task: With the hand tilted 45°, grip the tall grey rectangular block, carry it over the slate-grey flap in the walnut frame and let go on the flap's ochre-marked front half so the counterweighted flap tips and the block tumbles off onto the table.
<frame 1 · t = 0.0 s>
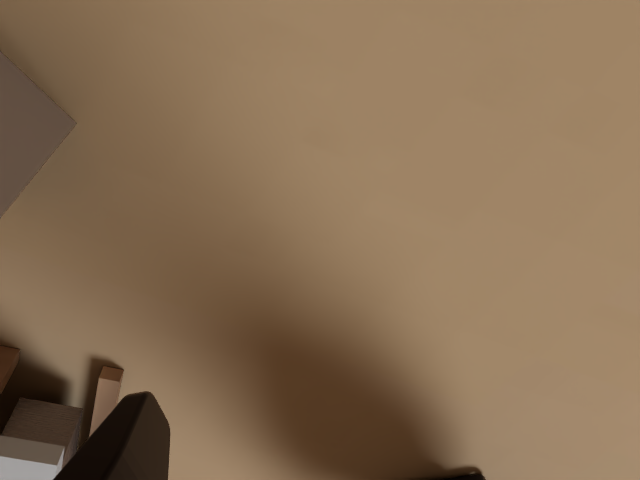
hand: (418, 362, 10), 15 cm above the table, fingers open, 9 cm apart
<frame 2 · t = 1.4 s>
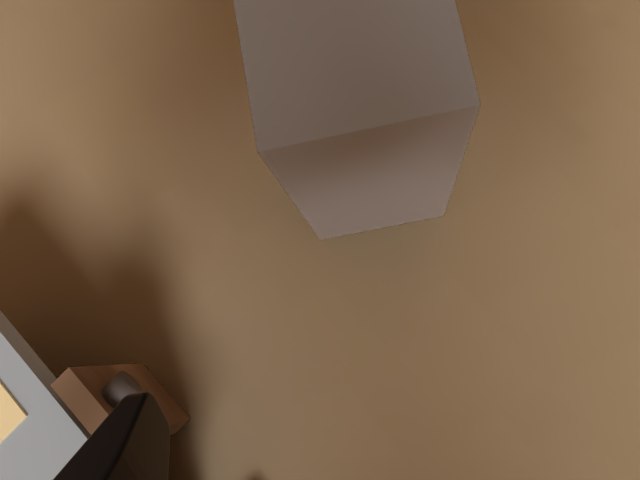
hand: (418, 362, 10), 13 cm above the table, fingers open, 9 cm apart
tall grey rectangular block: (369, 169, 24), on the table
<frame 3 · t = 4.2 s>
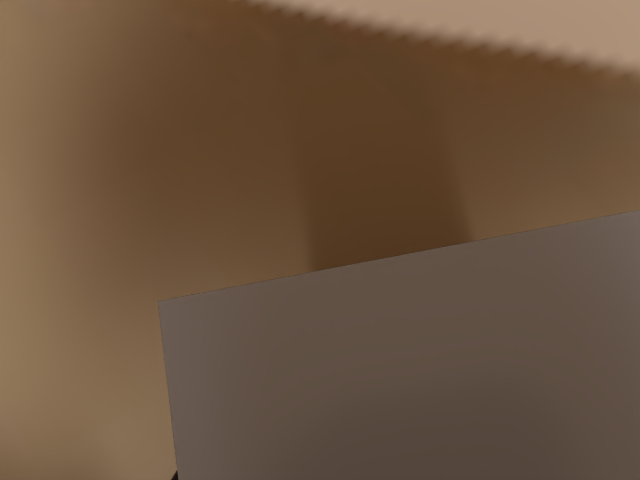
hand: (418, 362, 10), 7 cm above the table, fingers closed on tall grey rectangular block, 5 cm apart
tall grey rectangular block: (421, 410, 16), on the table, touching gripper
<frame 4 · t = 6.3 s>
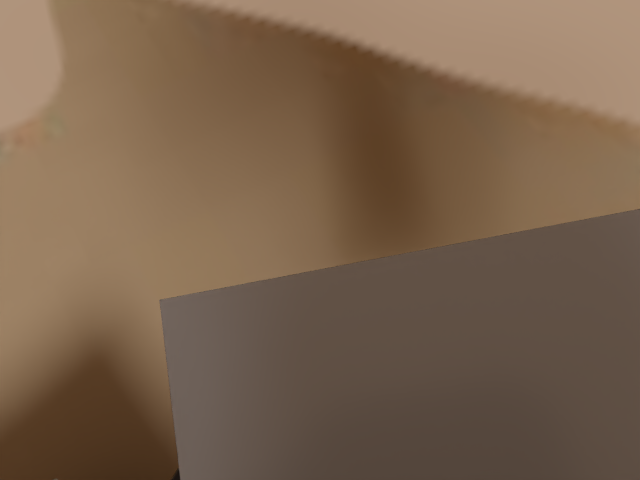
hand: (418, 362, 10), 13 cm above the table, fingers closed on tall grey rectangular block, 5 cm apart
tall grey rectangular block: (421, 409, 16), point 7 cm above the table, touching gripper
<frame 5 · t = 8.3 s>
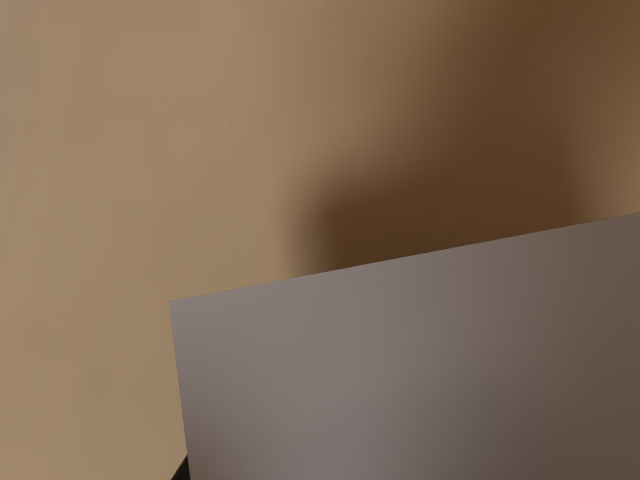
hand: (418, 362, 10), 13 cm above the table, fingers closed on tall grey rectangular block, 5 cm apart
tall grey rectangular block: (420, 406, 16), point 6 cm above the table, touching gripper
when the fingers open (13 cm above the table, at t = 8.8 s): tall grey rectangular block drops 2 cm and tips over, resting on trapdoor.
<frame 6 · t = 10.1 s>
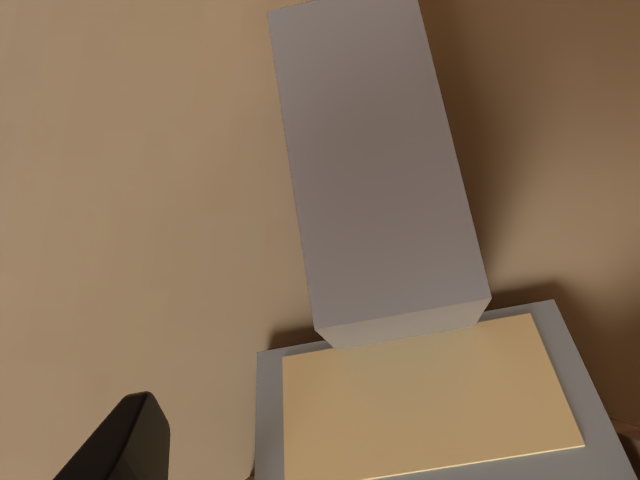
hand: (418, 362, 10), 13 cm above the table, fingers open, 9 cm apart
tall grey rectangular block: (403, 327, 19), point 4 cm above the table, tilted 97°, touching trapdoor
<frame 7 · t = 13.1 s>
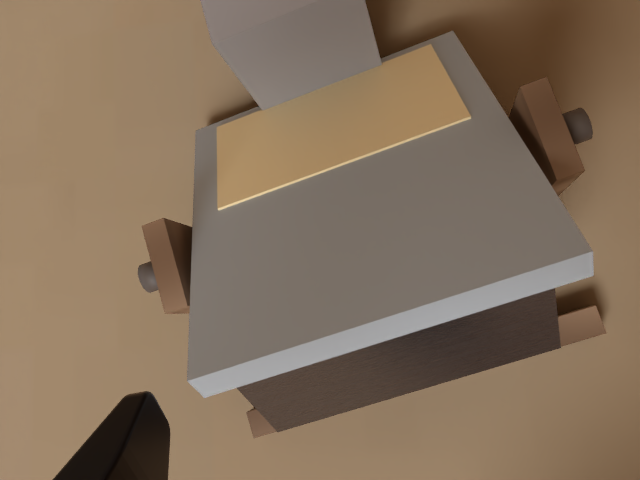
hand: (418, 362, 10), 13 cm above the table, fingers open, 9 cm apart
tall grey rectangular block: (305, 55, 21), point 4 cm above the table, tilted 97°, touching trapdoor
trapdoor: (360, 214, 21), point 3 cm above the table, hinge at 35.8°, touching tall grey rectangular block
trapdoor frame: (368, 224, 24), on the table
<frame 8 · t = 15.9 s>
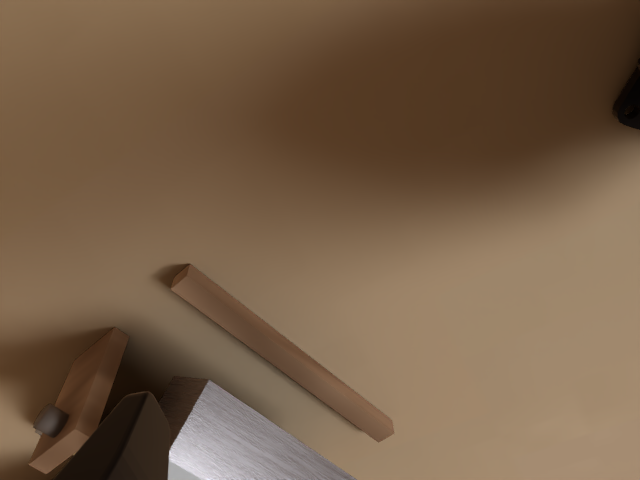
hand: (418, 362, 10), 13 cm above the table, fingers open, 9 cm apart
trapdoor: (198, 463, 27), point 3 cm above the table, hinge at 35.8°, touching tall grey rectangular block
trapdoor frame: (206, 416, 30), on the table
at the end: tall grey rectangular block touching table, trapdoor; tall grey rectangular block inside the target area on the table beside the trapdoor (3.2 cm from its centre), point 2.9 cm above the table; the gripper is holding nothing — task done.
